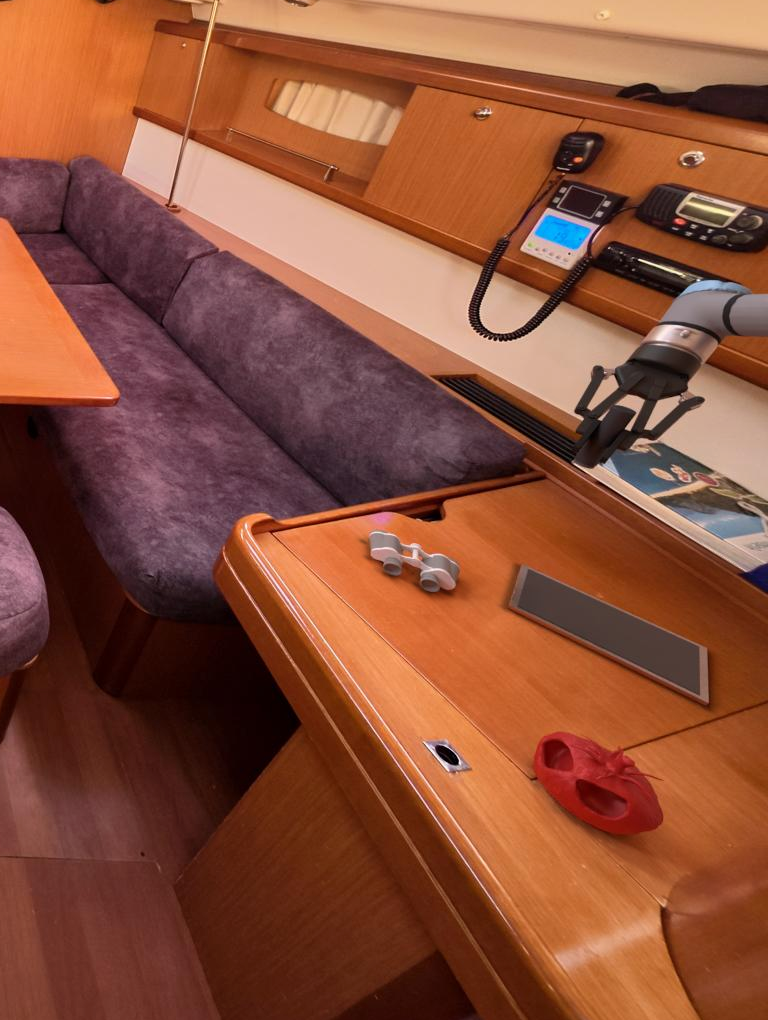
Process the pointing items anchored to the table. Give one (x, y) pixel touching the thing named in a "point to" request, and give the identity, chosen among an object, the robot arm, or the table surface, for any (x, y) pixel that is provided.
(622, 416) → the dark gray cylinder
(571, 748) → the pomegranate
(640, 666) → the tablet
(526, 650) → the table surface
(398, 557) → the binoculars
